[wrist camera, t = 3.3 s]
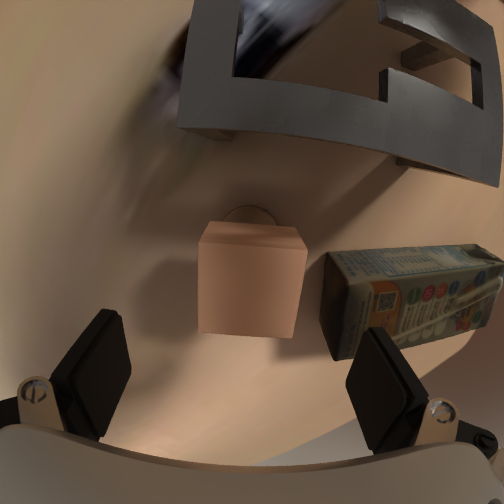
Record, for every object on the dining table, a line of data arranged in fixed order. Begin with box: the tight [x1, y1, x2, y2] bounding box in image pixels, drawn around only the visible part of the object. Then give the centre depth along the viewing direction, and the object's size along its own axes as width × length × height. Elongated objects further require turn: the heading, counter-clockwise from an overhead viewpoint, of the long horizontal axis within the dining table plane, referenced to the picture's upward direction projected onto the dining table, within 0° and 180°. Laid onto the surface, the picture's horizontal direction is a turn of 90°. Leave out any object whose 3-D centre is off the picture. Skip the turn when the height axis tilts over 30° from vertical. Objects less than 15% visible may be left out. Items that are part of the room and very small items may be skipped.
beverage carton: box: [319, 244, 504, 361], centre depth 22 cm, size 8×19×7 cm, turn 93°
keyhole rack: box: [177, 0, 503, 188], centre depth 14 cm, size 17×11×11 cm, turn 85°
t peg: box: [198, 206, 308, 338], centre depth 18 cm, size 5×5×10 cm
